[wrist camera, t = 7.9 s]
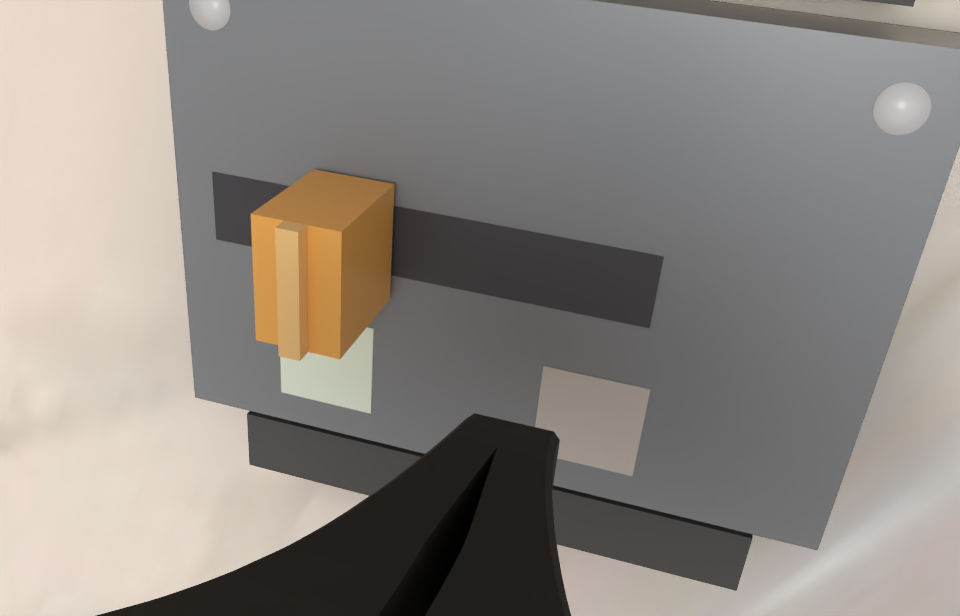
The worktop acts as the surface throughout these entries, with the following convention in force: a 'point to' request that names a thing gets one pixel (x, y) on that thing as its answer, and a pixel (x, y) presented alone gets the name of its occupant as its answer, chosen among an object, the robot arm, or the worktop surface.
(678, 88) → the panel
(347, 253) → the knob
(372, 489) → the dark grey flat bars
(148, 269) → the worktop surface
